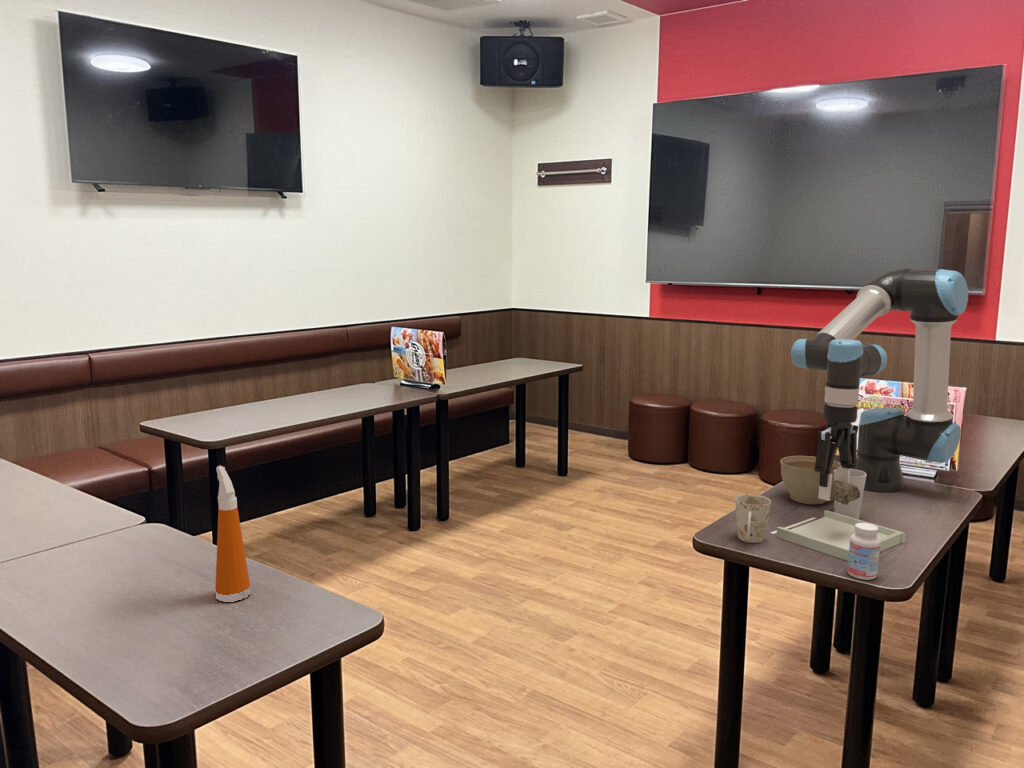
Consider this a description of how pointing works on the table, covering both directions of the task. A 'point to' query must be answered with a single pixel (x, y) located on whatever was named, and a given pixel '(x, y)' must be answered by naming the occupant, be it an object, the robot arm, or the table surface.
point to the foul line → (795, 524)
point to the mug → (752, 517)
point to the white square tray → (836, 535)
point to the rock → (844, 492)
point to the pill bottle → (864, 552)
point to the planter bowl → (803, 478)
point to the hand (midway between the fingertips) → (833, 496)
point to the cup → (855, 505)
